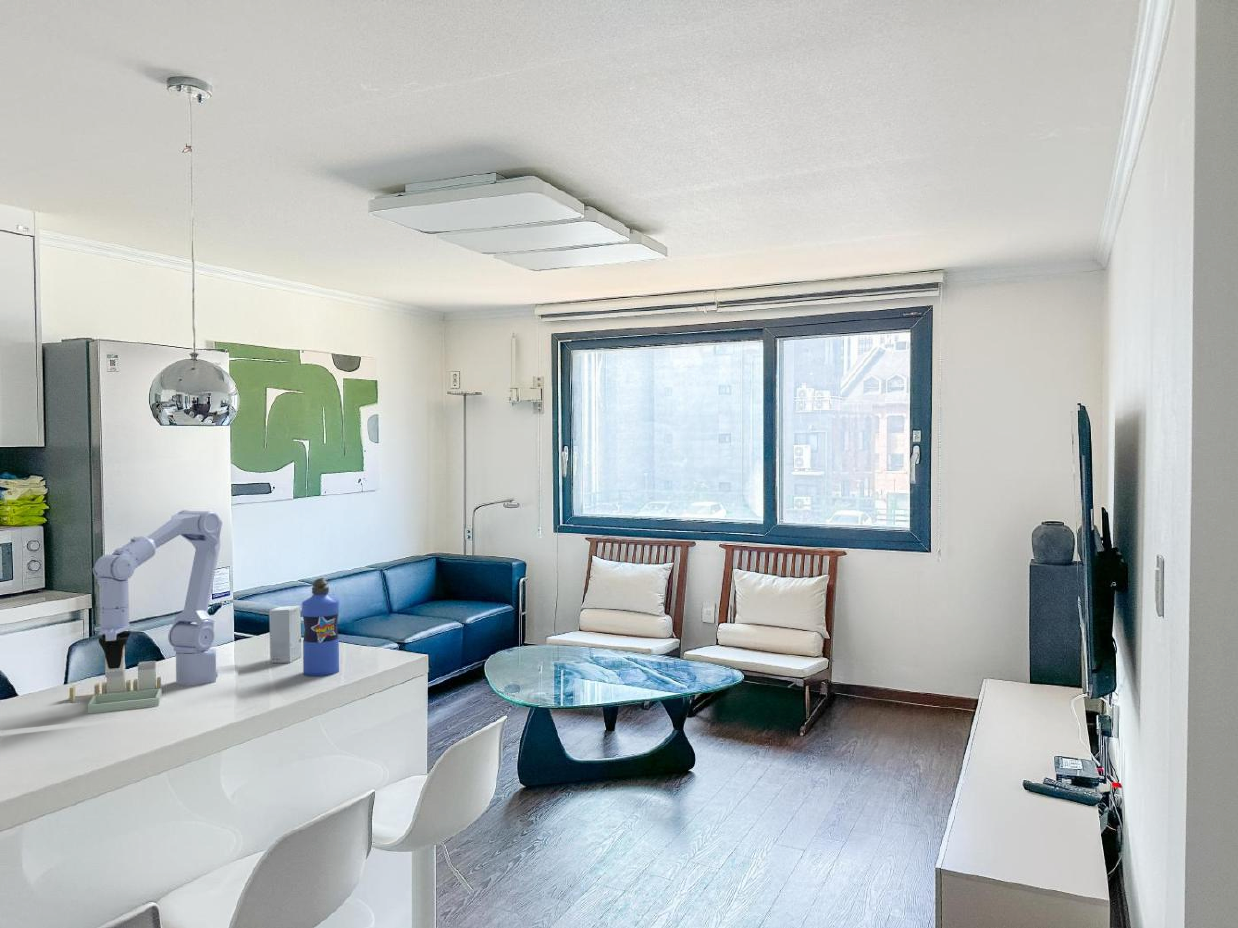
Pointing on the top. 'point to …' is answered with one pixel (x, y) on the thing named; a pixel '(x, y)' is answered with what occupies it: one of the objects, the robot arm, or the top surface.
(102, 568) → the robot arm
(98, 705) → the tray
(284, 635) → the skincare box
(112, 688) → the block
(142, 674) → the fuse near base
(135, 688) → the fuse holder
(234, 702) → the top surface
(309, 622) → the blue bottle
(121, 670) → the marked fuse
